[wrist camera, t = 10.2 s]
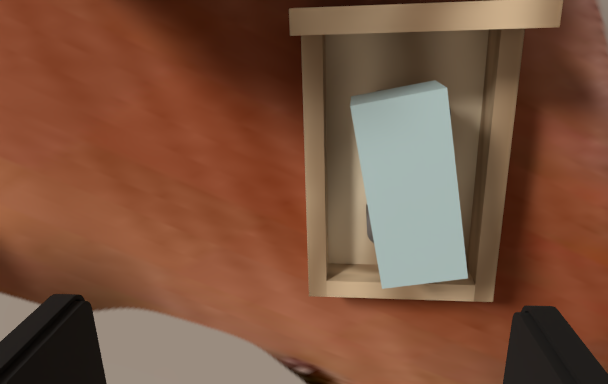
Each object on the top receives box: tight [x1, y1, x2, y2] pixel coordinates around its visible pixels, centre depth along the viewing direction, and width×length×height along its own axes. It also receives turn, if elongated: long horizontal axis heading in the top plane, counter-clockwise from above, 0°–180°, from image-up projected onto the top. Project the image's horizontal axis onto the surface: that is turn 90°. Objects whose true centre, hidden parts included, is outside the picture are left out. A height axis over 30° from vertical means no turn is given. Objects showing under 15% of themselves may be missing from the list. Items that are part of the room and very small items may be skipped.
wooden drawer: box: [289, 0, 563, 302], centre depth 27 cm, size 12×18×8 cm, turn 1°
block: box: [350, 80, 468, 289], centre depth 25 cm, size 10×4×4 cm, turn 11°
